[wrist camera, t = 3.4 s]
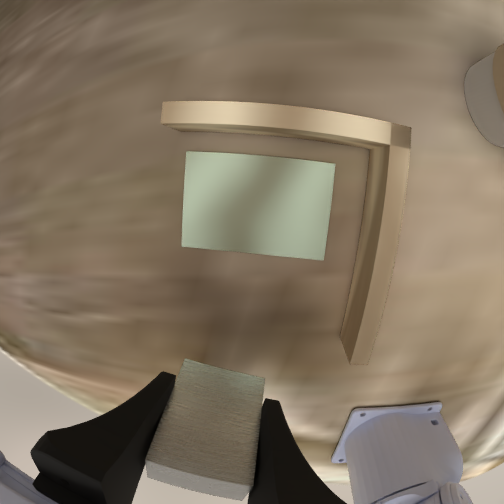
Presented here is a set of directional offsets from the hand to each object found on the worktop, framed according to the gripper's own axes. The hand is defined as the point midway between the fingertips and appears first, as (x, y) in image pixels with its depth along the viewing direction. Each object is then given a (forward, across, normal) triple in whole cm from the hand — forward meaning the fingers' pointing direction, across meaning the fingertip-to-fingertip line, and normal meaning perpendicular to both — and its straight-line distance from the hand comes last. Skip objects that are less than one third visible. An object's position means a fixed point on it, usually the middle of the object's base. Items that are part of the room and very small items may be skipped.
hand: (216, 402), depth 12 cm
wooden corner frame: (+8, -1, -7) cm, 11 cm away
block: (+2, 0, +3) cm, 4 cm away
